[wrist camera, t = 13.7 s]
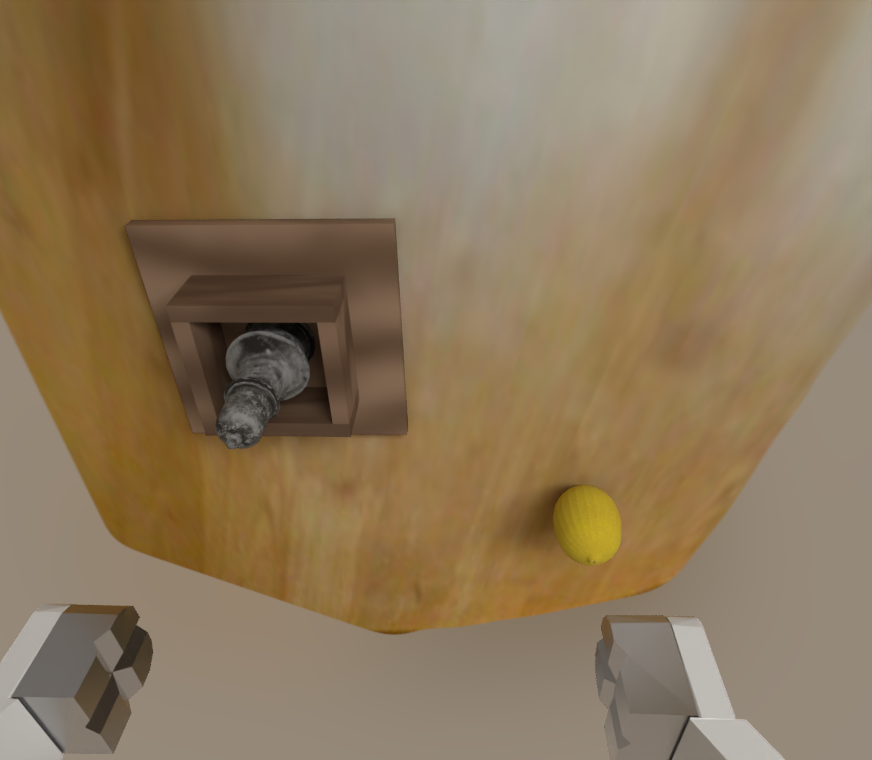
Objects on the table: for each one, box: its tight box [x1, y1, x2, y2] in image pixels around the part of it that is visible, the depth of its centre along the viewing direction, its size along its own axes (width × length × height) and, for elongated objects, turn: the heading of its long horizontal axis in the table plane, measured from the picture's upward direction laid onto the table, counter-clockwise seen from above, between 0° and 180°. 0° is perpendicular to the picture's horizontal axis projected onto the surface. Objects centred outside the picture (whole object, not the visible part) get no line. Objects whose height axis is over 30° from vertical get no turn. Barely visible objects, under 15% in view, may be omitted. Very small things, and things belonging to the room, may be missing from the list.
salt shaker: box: [215, 323, 316, 449], centre depth 41 cm, size 6×6×12 cm
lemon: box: [553, 485, 622, 565], centre depth 51 cm, size 6×6×8 cm
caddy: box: [125, 219, 408, 437], centre depth 44 cm, size 18×18×6 cm
